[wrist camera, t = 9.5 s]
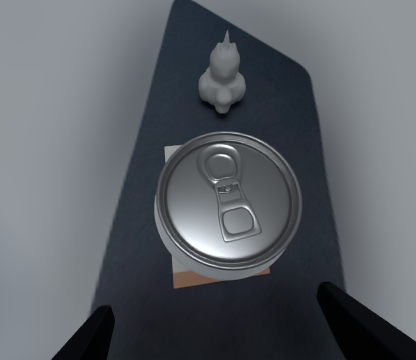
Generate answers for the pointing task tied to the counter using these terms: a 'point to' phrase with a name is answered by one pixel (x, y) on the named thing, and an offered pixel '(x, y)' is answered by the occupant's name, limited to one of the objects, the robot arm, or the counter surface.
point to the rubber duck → (222, 77)
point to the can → (227, 205)
